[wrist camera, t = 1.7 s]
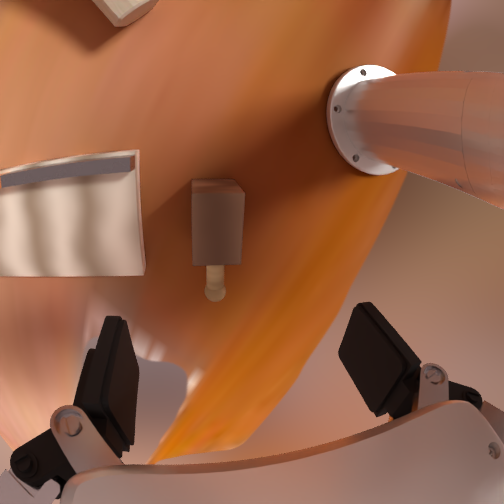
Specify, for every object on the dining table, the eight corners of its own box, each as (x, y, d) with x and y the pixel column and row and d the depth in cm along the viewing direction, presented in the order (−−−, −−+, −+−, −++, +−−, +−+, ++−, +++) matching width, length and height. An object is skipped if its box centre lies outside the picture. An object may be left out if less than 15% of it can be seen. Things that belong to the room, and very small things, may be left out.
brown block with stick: (233, 178, 26) (245, 193, 21) (229, 275, 30) (238, 307, 25) (191, 178, 25) (191, 193, 20) (193, 276, 29) (194, 310, 24)
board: (139, 149, 23) (135, 151, 21) (146, 265, 28) (143, 275, 26) (-24, 175, 18) (-33, 180, 16) (-5, 268, 23) (-13, 275, 21)
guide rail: (135, 154, 21) (130, 157, 19) (135, 168, 22) (130, 171, 20) (-33, 182, 16) (-43, 187, 15) (-32, 192, 17) (-42, 198, 15)
